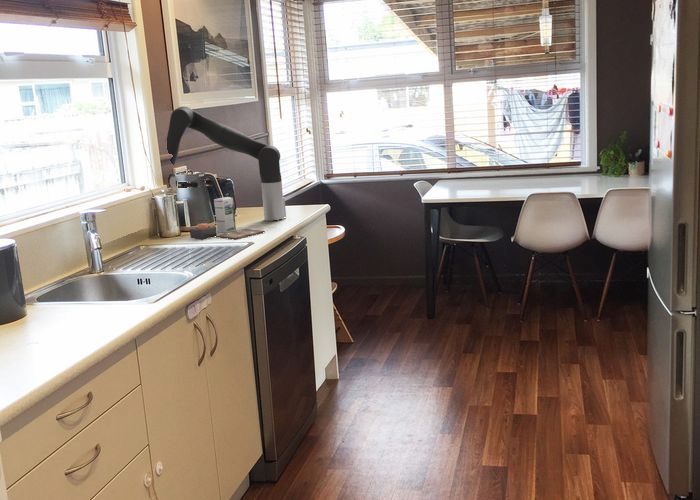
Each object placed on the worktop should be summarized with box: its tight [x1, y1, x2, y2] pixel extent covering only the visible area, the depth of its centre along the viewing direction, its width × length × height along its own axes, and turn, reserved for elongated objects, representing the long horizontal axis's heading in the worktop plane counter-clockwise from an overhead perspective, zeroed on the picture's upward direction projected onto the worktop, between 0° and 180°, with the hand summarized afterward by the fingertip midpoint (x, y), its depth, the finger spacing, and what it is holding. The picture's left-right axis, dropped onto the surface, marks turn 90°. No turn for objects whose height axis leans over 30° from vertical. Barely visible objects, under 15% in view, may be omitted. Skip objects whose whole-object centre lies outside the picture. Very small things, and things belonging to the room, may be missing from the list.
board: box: [215, 228, 266, 241], centre depth 317 cm, size 16×12×1 cm
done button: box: [196, 222, 209, 229], centre depth 316 cm, size 4×4×3 cm
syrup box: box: [213, 196, 237, 234], centre depth 326 cm, size 6×6×14 cm
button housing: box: [189, 225, 218, 241], centre depth 317 cm, size 8×8×4 cm
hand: (205, 183), depth 330 cm, fingers open, 8 cm apart
